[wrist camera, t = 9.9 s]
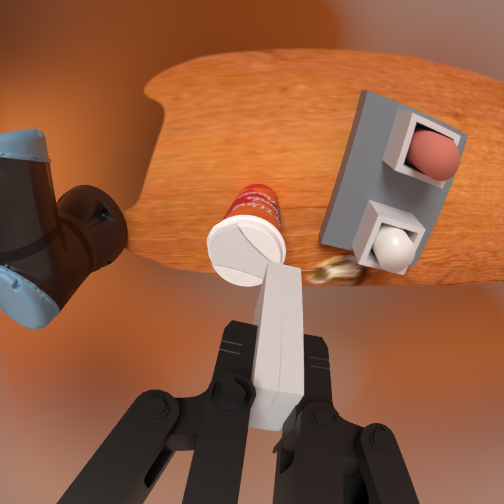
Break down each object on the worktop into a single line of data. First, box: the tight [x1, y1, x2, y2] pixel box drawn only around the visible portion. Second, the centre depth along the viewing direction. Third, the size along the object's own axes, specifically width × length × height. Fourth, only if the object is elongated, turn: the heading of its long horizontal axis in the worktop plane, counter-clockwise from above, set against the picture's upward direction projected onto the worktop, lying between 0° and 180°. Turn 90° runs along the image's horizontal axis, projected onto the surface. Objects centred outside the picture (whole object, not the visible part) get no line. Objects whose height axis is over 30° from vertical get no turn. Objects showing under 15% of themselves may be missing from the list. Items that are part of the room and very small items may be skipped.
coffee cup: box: [207, 184, 286, 287], centre depth 37 cm, size 8×8×15 cm
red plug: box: [405, 127, 460, 181], centre depth 29 cm, size 5×5×7 cm
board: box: [319, 90, 468, 275], centre depth 36 cm, size 16×22×8 cm
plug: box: [372, 222, 415, 272], centre depth 37 cm, size 5×5×7 cm
